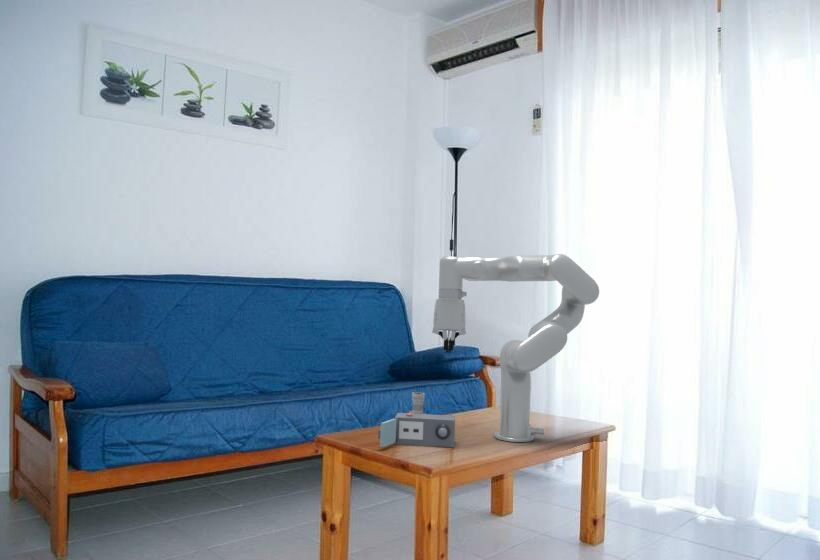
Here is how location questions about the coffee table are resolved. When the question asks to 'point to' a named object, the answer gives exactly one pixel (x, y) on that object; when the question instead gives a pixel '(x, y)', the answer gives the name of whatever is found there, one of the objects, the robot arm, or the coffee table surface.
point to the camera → (417, 403)
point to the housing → (425, 430)
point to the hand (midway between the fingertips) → (448, 352)
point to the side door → (387, 433)
